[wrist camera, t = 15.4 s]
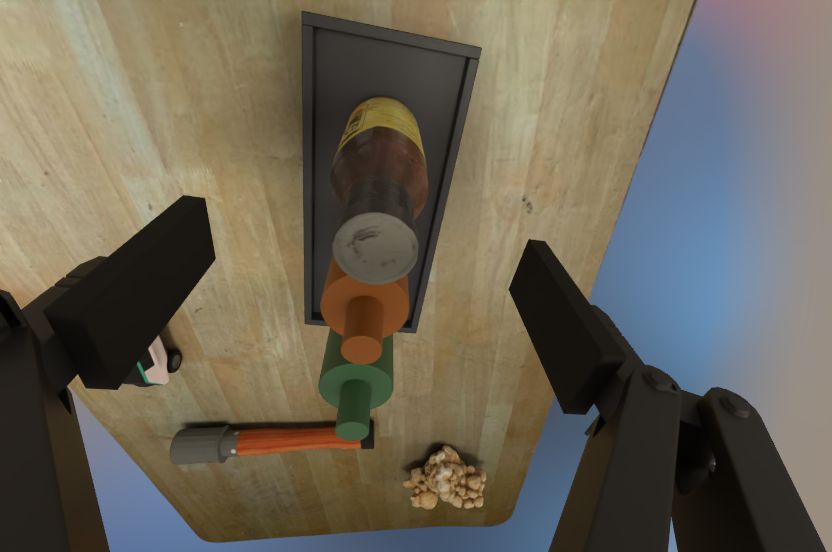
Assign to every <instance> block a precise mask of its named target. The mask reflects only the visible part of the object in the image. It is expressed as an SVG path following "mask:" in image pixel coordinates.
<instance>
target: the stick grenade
mask: <svg viewBox="0 0 832 552" xmlns="http://www.w3.org/2000/svg"><path fill="white" fill-rule="evenodd" d="M324 448H345V449H374V421H371V422H369V434H368V435H367V436H366V437H365V438H364V439H362V440H358V441H346V440H342V439H340V438H339V437H338V436H337V435H336V434H335V427H321V428H303V429H282V428H264V429H246V430H232V429H231V427H230V426H229V425H226V426H224V427H209V428H191V429H182V430H180V431H178V432H177V433H176V435H175V436H174V438H173V440H172V443H171V447H170V459H171V461H172V463H173V464H176V465H180V464H195V463H211V462H219V463H224V462H225V461H226V460H227V458H228V457H232V456H252V455H267V454H274V453H280V452H287V451H294V450H308V449H324Z"/></svg>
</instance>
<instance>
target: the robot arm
mask: <svg viewBox="0 0 832 552" xmlns="http://www.w3.org/2000/svg"><path fill="white" fill-rule="evenodd" d="M215 259H216V257H215V251H214V246H213V240H212V235H211V229H210V223H209V218H208V212H207V207H206V201H205V198H200V197H192V196H185V195H183V196H182V197H181V198H179V199H178V200H177V201H176V202H175V203H173V204H172V205H171V206H170V207H168V208H167V209H166V210H165V211H164V212H162V213H161V214H160V215H159V216H157V217H156V218H155V219H154V220H153V221H151V222H150V223H149V224H148V225H146V226H145V227H144V228H143V229H142V230H140V231H139V232H138V233H137V234H135V235H134V236H133V237H132V238H131V239H129V240H128V241H127V242H126V243H125V244H123V245H122V246H121V247H120V248H118V249H117V250H116V251H115V252H114V253H112V254H111V255H110V256H109V257H103V256H99V257H96V258H94V259H92V260H89V261H87V262H85V263H82V264H80V265H79V266H77V267H76V268H75V269H74V270H72V271H71V272H70V273H68V274H67V275H66V278H64V277H63V278H62V279H61V280H59V281H58V282H57V283H55V286H54V287H53V286H52V287H50V288H49V289H48V290H46V291H45V292H44V293H42V294H41V295H40V296H39V297H37V298H36V299H35V300H33V301H32V302H31V303H29V304H28V305H27V306H26V307H24V308H23V309H22V310H21V309H20V308H19V306H18V304H17V303H16V301H15V300H14V298H13V297H12V295H11V294H10V293H9V292H7V291H4V290H0V552H110V550H109V546H108V542H107V538H106V534H105V530H104V525H103V522H102V517H101V513H100V509H99V505H98V501H97V497H96V493H95V489H94V484H93V480H92V476H91V472H90V468H89V464H88V460H87V455H86V451H85V447H84V443H83V439H82V435H81V431H80V426H79V422H78V418H77V414H76V410H75V406H74V402H73V398H72V394H71V392H70V390H69V389H68V387H67V385H68V384H69V383H70V382H71V381H72V380H73V379H74V378H75V376H76V375H77V374H78V375H79V377H80V379H81V380H82V382H83V384H84V386H85V387H86V388H91V389H110V390H118V388H119V387H120V386H121V384H122V383H123V382H124V380H125V379H126V378H127V376H128V375H129V374H130V372H131V371H132V370H133V368H134V367H135V366H136V364H137V363H138V362H139V360H140V359H141V358H142V356H143V355H144V354H145V352H146V351H147V350H148V348H149V347H150V346H151V344H152V343H153V342H154V340H155V339H156V338H157V336H158V335H159V334H160V332H161V331H162V330H163V328H164V327H165V326H166V324H167V323H168V322H169V320H170V319H171V318H172V316H173V315H174V314H175V312H176V311H177V310H178V308H179V307H180V306H181V304H182V303H183V302H184V300H185V299H186V298H187V296H188V295H189V294H190V292H191V291H192V290H193V288H194V287H195V286H196V284H197V283H198V282H199V280H200V279H201V278H202V276H203V275H204V274H205V272H206V271H207V270H208V268H209V267H210V266H211V265H212V263H213V262H214V261H215ZM509 291H510V294H511V296H512V298H513V300H514V303H515V305H516V307H517V309H518V312H519V314H520V316H521V318H522V321H523V323H524V325H525V327H526V330H527V332H528V334H529V336H530V339H531V341H532V343H533V345H534V348H535V350H536V352H537V354H538V357H539V359H540V361H541V363H542V366H543V368H544V370H545V372H546V375H547V377H548V379H549V381H550V384H551V386H552V388H553V390H554V393H555V395H556V397H557V399H558V402H559V404H560V406H561V408H562V410H563V413H564V414H582V415H585V414H586V413H587V412H588V411H589V409H590V408H591V406H592V405H593V404H595V405H596V407H597V409H598V411H599V413H600V414H599V415H598V417H597V418H596V419H595V420H594V422H593V423H592V424H591V425H590V427H589V428H588V429H587V431H586V432H585V434H586V435H589V434H590V435H589V438H588V440H587V443H586V446H585V449H584V452H583V455H582V457H581V461H580V463H579V466H578V469H577V472H576V475H575V478H574V480H573V483H572V486H571V489H570V492H569V495H568V497H567V500H566V503H565V506H564V509H563V512H562V515H561V517H560V520H559V523H558V526H557V529H556V532H555V534H554V537H553V540H552V543H551V546H550V549H549V552H668V544H669V533H670V522H671V517H672V522H673V528H674V533H675V538H676V544H677V549H678V552H826V550H825V548H824V546H823V543H822V542H821V540H820V537H819V535H818V533H817V531H816V529H815V527H814V525H813V523H812V521H811V519H810V517H809V515H808V513H807V511H806V509H805V507H804V505H803V503H802V500H801V498H800V496H799V494H798V492H797V490H796V488H795V486H794V484H793V482H792V480H791V478H790V476H789V474H788V472H787V470H786V468H785V466H784V464H783V461H782V460H781V458H780V455H779V453H778V451H777V450H776V447H775V445H774V443H773V441H772V439H771V437H770V435H769V433H768V431H767V429H766V427H765V425H764V423H763V421H762V418H761V417H760V415H759V414H758V412H757V411H756V409H755V408H754V407H752V406H751V405H750V404H749V403H748V401H746V400H745V399H744V398H742V397H741V396H739V395H737V394H736V393H733V392H731V391H729V390H727V389H723V388H719V387H716V388H711V389H710V390H709V391H708V392H707V393H706V394H705V395H704V396H703V397H702V396H699V395H696V394H693V393H690V392H687V391H684V390H681V388H680V387H679V386H678V384H677V383H676V381H674V380H673V379H672V378H671V377H670V376H669V375H668V374H666V373H665V372H663V371H661V370H660V369H658V368H655V367H653V366H650V365H645V364H644V363H643V362H642V360H641V359H640V358H639V356H638V355H637V354H636V353H635V351H634V350H633V348H632V347H631V346H630V344H629V343H628V342H627V340H626V339H625V338H624V336H622V334H621V332H620V331H619V329H618V328H616V327H615V324H614V323H613V321H612V320H611V319H610V317H609V316H608V315H607V314H606V313H604V312H603V311H602V310H601V309H600V308H598V307H597V306H595V305H590V304H589V302H588V301H587V300H586V298H585V297H584V295H583V294H582V292H581V291H580V290H579V288H578V287H577V285H576V284H575V283H574V281H573V280H572V278H571V277H570V276H569V274H568V273H567V271H566V270H565V269H564V267H563V266H562V264H561V263H560V262H559V260H558V259H557V257H556V256H555V255H554V253H553V252H552V250H551V249H550V248H549V246H548V245H547V243H546V242H545V241H538V240H531V239H529V240H528V242H527V245H526V247H525V250H524V252H523V255H522V257H521V260H520V262H519V265H518V267H517V270H516V272H515V275H514V277H513V280H512V282H511V285H510V287H509ZM714 463H715V465H714Z"/></svg>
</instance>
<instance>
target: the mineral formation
mask: <svg viewBox="0 0 832 552" xmlns="http://www.w3.org/2000/svg"><path fill="white" fill-rule="evenodd" d="M485 480H486V473H485V472H484V471H483V470H481V469H480V470H479V469H477V470H476V471H475V468H474V467H473V466H472V465H469V466H468V467H467V466H466V465H465V464H464V462H463V461H462V460H461V459H460V458H459V456H458V454H457V453H456V451H455V450H453V449H451V447H450V446H447V445H443V447H442V450H441V451H438V452H437V453H433V454H432V455H431V456H430V459H429V460H428V461H427V462H426V463H425V465H423V467H422V468H416V469H413V470H412V471H411V477H410V478H409V479H408V480H404V481H403V485H404V487H410V488H411V489H412V490H414V492H415V493H414V494H413V495H412V497H411V498H410V499H411V500H412V506H414V507H420V506H421V507H423V508H425V509H432V508H434V507H435V505H436V503H437V501H438V496H439V497H441V499H442V500H443V501H445V502H448V501H449V502H450V503H451V504H453V505H454V506H456V507H457V508H461V506H462V505H464V507H465V508H472V507H473V506H474V505H475V506H476V507H481V506H482V505H483V499H484V498H483V496H482V493H481V491H482V490H483V488H484V486H485V484H484V481H485Z"/></svg>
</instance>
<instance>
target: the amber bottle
mask: <svg viewBox="0 0 832 552" xmlns="http://www.w3.org/2000/svg"><path fill="white" fill-rule="evenodd" d="M320 308H321V313H322V316H323V318H324V320H325V322H326V323H327V324H328V325H329V327H331V328H332V329H333V330H334V331H335V332H337V333H338V334H340V335H342V336H343V337H342V344H341V353H342V355H343V357H344V358H345V359H346V360H348V361H349V362H352V363H355V364H369V363H372V362H374V361H376V360H377V359H378V358H379V357H380V356H381V354H382V343H383V338H385V337H388V336H390V335H392V334H394V333H395V332H397V331H398V330H399V329H400V328H401V327H402V326H403V325H404V323H405V322H406V320H407V318H408V315H409V309H410V307H409V291H408V276H407V274H406V275H405V276H404V277H403V278H400V279H398V280H396V281H394V282H391V283H387V284H382V285H374V284H367V283H362V282H359V281H357V280H355V279H353V278H352V277H350V276H349V275H347V274H346V273H345V272H343V271H342V270H341V268H340V267H339V265H338V264H337V262H336V260H335V259H334V255H332V259H331V263H330V267H329V270H328V274H327V278H326V282H325V286H324V290H323V294H322V297H321V303H320Z"/></svg>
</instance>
